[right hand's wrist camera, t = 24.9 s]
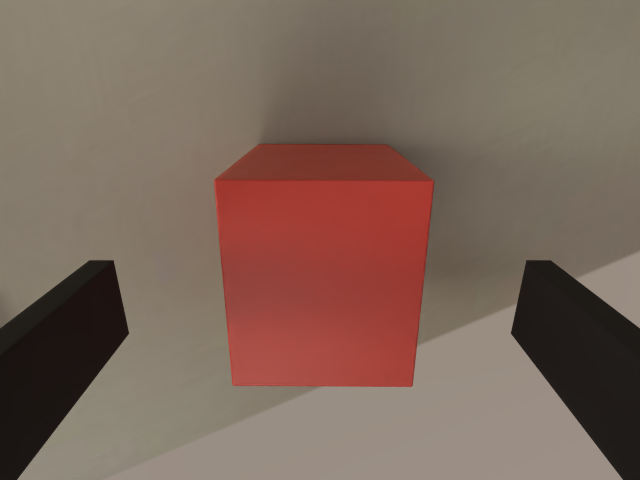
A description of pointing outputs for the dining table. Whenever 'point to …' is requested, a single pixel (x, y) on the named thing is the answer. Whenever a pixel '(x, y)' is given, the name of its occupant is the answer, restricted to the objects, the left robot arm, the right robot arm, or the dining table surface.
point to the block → (323, 264)
